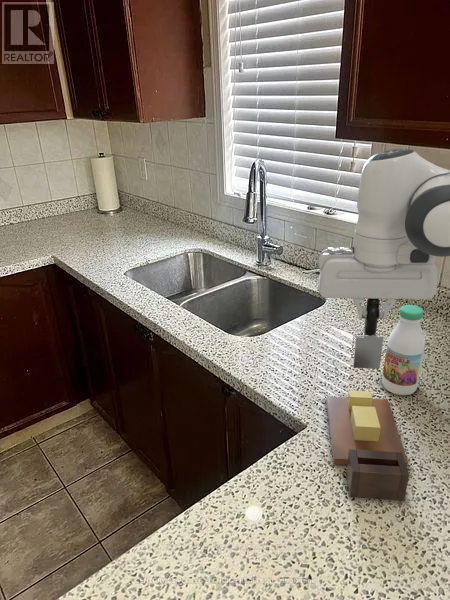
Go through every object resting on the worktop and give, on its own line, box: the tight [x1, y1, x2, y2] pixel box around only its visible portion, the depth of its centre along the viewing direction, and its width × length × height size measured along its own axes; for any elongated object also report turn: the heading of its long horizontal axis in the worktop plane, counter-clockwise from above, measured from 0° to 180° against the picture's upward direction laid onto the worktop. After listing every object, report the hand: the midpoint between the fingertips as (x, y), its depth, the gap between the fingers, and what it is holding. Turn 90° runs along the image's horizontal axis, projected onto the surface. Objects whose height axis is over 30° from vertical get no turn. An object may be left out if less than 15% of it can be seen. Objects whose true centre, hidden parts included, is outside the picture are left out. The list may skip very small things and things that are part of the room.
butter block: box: [351, 406, 380, 441], centre depth 88 cm, size 4×6×4 cm
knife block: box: [345, 449, 410, 502], centre depth 77 cm, size 9×5×6 cm, turn 83°
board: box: [325, 395, 409, 467], centre depth 90 cm, size 13×18×2 cm
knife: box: [352, 298, 384, 370], centre depth 85 cm, size 5×2×16 cm, turn 83°
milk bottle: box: [381, 304, 426, 396], centre depth 98 cm, size 8×8×20 cm
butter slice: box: [347, 390, 373, 410], centre depth 94 cm, size 4×2×4 cm, turn 83°
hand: (371, 317), depth 84 cm, fingers closed on knife, 2 cm apart
